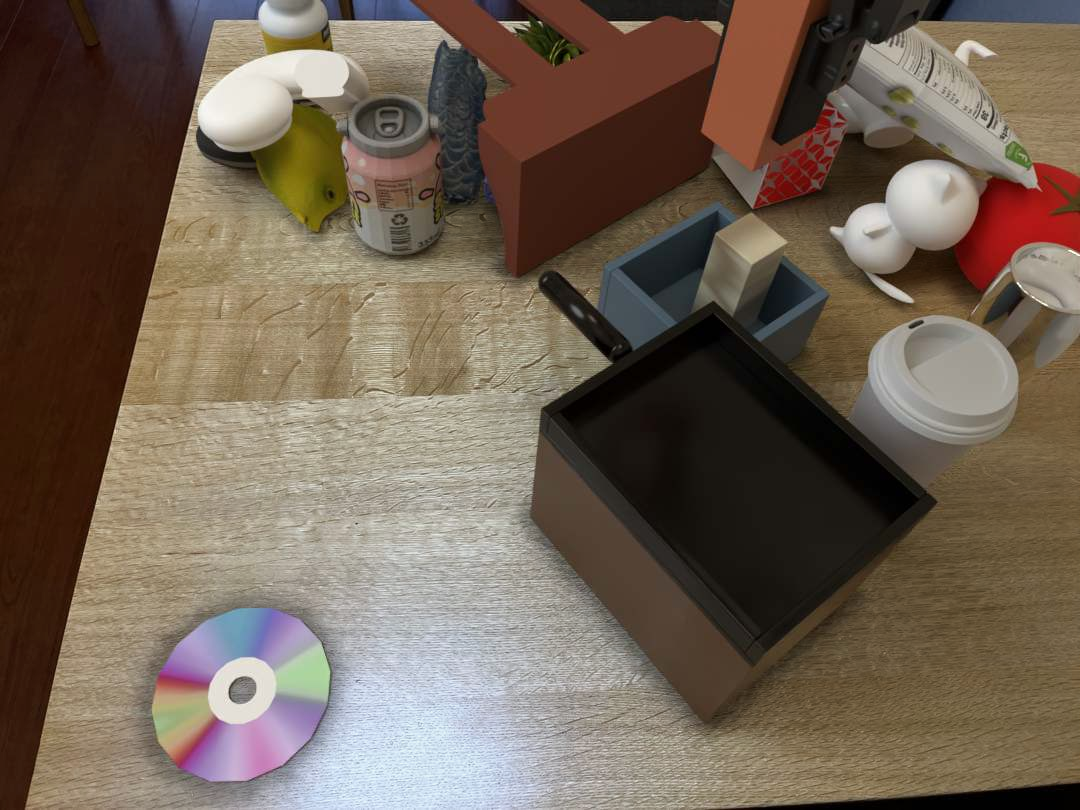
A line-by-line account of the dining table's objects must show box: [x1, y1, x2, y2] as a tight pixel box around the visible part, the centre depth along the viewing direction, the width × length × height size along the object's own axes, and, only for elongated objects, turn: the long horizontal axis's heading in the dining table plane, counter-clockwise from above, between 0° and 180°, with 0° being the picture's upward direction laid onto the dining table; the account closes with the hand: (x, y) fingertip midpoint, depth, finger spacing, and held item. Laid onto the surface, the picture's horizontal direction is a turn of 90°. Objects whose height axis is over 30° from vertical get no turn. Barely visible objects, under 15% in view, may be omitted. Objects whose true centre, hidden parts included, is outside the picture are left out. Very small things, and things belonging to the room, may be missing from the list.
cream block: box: [690, 212, 789, 330], centre depth 71 cm, size 4×4×10 cm
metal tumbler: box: [966, 242, 1080, 387], centre depth 67 cm, size 7×7×15 cm
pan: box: [529, 269, 939, 725], centre depth 59 cm, size 28×15×15 cm, turn 38°
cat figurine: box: [829, 159, 987, 304], centre depth 76 cm, size 9×11×12 cm
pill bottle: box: [257, 0, 334, 107], centre depth 85 cm, size 6×6×12 cm
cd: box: [151, 607, 332, 783], centre depth 57 cm, size 11×11×1 cm
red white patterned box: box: [711, 99, 849, 210], centre depth 83 cm, size 8×8×8 cm
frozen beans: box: [846, 24, 1042, 192], centre depth 75 cm, size 21×6×25 cm
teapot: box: [827, 39, 1000, 149], centre depth 88 cm, size 10×20×9 cm
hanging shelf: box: [408, 0, 721, 278], centre depth 82 cm, size 24×13×30 cm
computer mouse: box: [195, 99, 300, 172], centre depth 83 cm, size 7×12×4 cm, turn 159°
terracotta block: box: [701, 0, 831, 172], centre depth 44 cm, size 4×4×10 cm
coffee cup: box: [847, 314, 1019, 489], centre depth 62 cm, size 10×10×15 cm
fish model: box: [427, 38, 488, 206], centre depth 85 cm, size 7×21×5 cm, turn 4°
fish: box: [250, 100, 349, 233], centre depth 81 cm, size 3×16×10 cm
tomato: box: [954, 162, 1080, 293], centre depth 76 cm, size 14×13×10 cm
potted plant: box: [495, 12, 584, 89], centre depth 84 cm, size 12×13×15 cm
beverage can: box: [336, 93, 446, 256], centre depth 75 cm, size 9×8×12 cm
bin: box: [596, 200, 831, 365], centre depth 72 cm, size 13×13×8 cm
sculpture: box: [197, 50, 371, 152], centre depth 73 cm, size 12×15×8 cm
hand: (761, 107), depth 47 cm, fingers closed on terracotta block, 4 cm apart
